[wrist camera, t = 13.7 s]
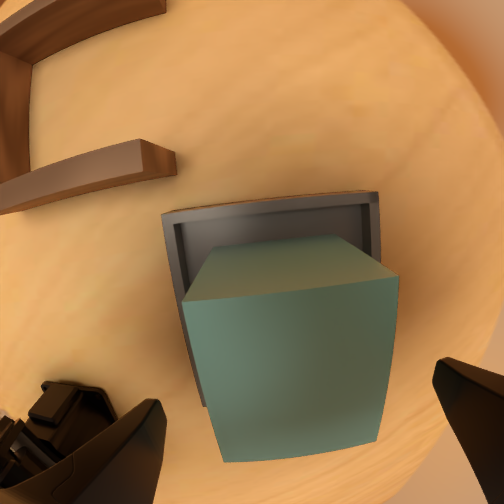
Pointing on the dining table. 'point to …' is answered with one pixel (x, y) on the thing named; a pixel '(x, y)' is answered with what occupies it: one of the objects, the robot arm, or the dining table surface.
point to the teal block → (292, 345)
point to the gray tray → (264, 232)
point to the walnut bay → (17, 105)
